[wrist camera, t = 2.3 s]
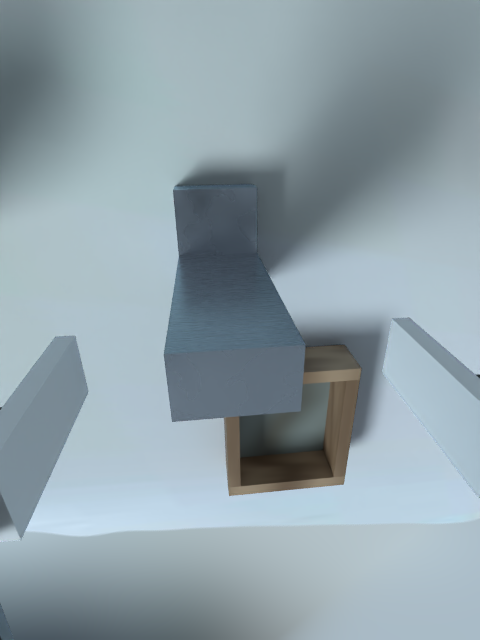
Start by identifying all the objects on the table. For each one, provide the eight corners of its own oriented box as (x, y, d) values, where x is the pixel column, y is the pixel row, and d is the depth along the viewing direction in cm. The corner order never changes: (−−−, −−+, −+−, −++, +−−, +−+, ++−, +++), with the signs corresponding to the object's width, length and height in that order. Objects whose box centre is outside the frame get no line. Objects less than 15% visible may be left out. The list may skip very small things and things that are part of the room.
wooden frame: (226, 463, 35) (229, 495, 31) (221, 352, 29) (224, 378, 26) (330, 453, 35) (343, 484, 32) (344, 344, 30) (361, 368, 27)
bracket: (252, 285, 27) (300, 411, 15) (183, 289, 27) (172, 421, 14) (252, 184, 24) (313, 232, 11) (174, 186, 24) (149, 239, 11)
